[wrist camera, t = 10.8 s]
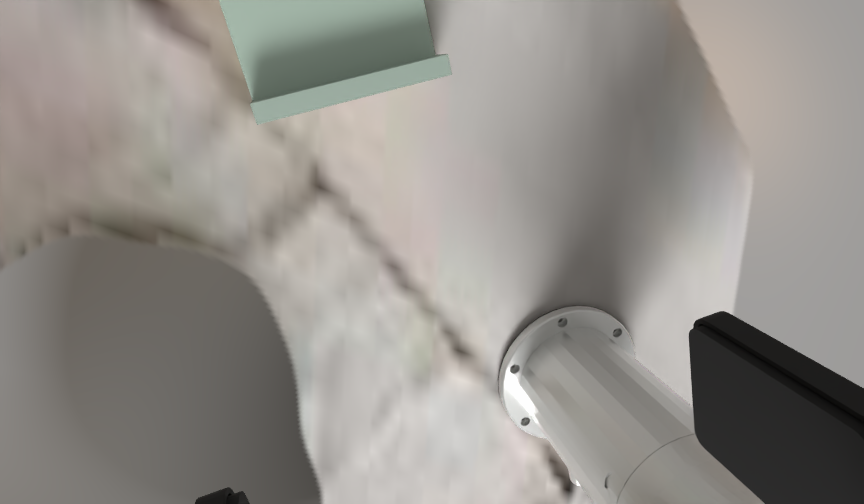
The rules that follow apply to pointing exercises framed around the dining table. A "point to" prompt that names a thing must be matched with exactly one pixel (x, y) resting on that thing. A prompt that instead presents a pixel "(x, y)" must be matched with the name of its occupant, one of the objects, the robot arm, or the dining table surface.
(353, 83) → the green can holder
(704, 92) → the dining table surface
